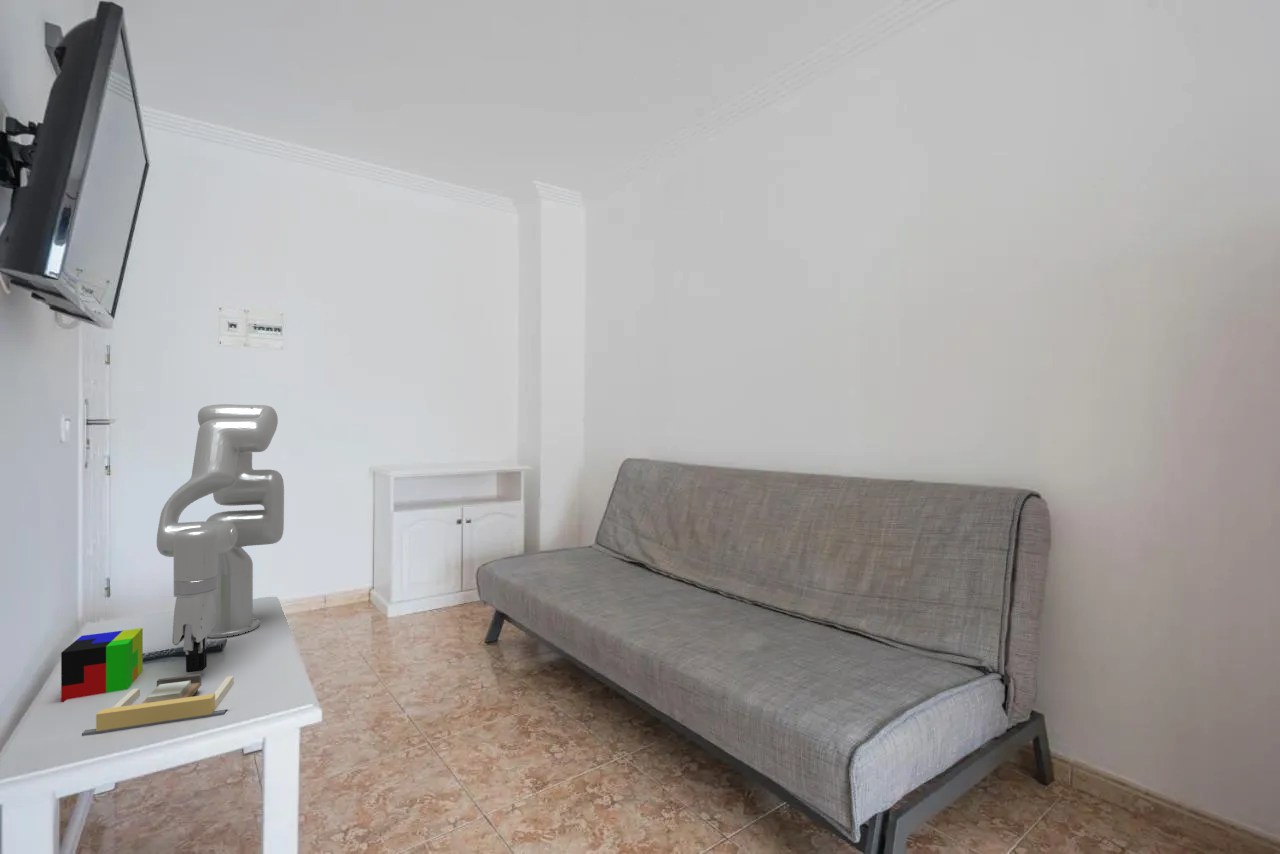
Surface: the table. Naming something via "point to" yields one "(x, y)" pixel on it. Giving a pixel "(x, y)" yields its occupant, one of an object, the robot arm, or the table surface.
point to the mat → (158, 710)
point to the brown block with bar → (175, 688)
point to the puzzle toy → (101, 663)
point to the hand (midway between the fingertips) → (196, 669)
